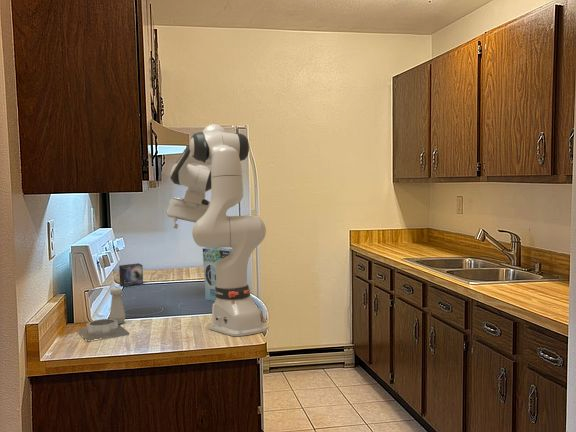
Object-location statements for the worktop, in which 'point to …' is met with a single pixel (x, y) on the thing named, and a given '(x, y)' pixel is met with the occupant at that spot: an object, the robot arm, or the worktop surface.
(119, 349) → the worktop surface
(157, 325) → the worktop surface
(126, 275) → the small box
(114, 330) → the duct flange
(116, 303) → the salt shaker
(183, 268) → the worktop surface
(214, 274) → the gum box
